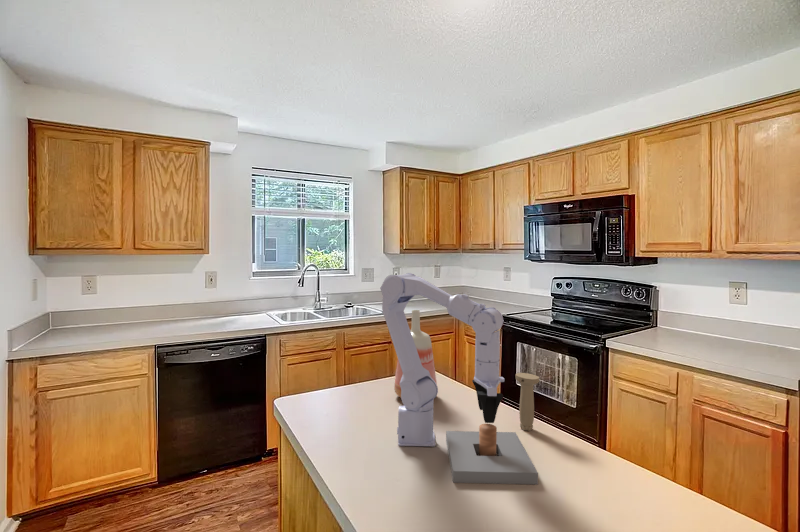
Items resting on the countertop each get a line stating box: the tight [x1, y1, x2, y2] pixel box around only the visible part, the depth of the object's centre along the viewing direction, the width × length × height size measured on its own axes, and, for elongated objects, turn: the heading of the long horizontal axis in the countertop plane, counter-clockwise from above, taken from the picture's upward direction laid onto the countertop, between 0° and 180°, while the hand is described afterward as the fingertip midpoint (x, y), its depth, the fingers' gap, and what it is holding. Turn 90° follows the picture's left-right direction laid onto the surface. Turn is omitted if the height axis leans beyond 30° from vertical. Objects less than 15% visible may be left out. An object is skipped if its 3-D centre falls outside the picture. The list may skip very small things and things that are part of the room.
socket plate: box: [445, 430, 539, 485], centre depth 100 cm, size 18×20×2 cm
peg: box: [478, 423, 498, 456], centre depth 99 cm, size 4×4×8 cm
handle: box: [515, 372, 540, 432], centre depth 117 cm, size 5×6×15 cm
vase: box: [393, 309, 438, 399], centre depth 142 cm, size 14×14×30 cm
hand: (486, 415), depth 100 cm, fingers open, 7 cm apart
